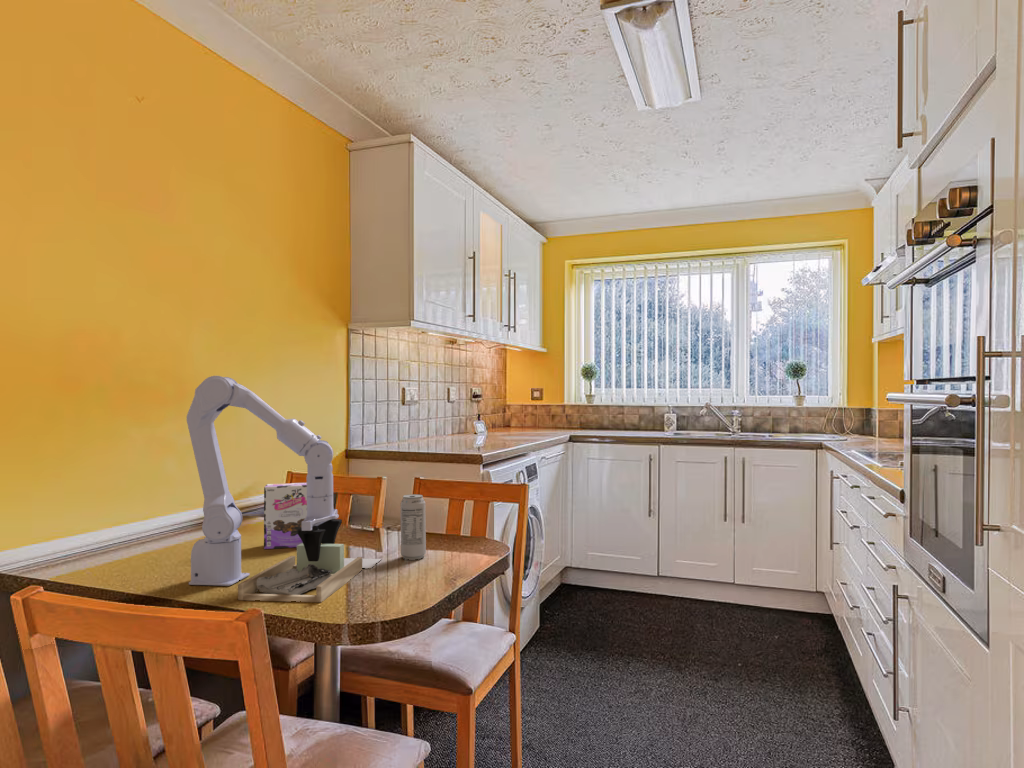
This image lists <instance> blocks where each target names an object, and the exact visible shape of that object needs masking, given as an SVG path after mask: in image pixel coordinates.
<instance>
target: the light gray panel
mask: <svg viewBox="0 0 1024 768" xmlns="http://www.w3.org/2000/svg"><path fill="white" fill-rule="evenodd" d="M356 558H357V557H356ZM356 558H353V557H350V558H349V557H344V566H346V565H347V564H349V563H350V562H352V561H353V560H355V559H356ZM381 559H382V558H363V557H362V568H371V569H373V568H374V567H375V566H376V565H377V564H376V563H378V562H379V561H380V560H381ZM381 561H382V560H381ZM381 561H380V562H381ZM380 562H379V563H380ZM379 563H378V564H379ZM375 564H376V565H375ZM374 565H375V566H374ZM373 566H374V567H373ZM372 567H373V568H372Z"/></svg>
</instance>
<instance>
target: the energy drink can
mask: <svg viewBox="0 0 1024 768" xmlns="http://www.w3.org/2000/svg"><path fill="white" fill-rule="evenodd" d="M426 519H427V518H426V501H425V499H424V496H423V494H417V493H415V494H414V493H413V494H411V493H410V494H404V495H403V496H402V500H401V501H400V555H401V556H402V558H403V559H404V558H405V559H404V560H406V559H409V560H408V561H416V560H415V559H418V560H422V559H423V558H424V557H425V555H426V553H427V550H426V549H427V545H426V544H427V540H426V539H427V538H426V537H427V536H426V535H427V534H426V533H427V531H426V529H427V525H426ZM421 558H422V559H421Z"/></svg>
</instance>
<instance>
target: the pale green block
mask: <svg viewBox="0 0 1024 768" xmlns="http://www.w3.org/2000/svg"><path fill="white" fill-rule="evenodd" d="M344 558H345V544H344V543H335V544H321V547H320V556H319V560H318V561H308V558H307V555H306V551H305V547H304V544H303V543H301V544H299V545H297V547H296V565H297V569H298V570H297V571H299V572H300V571H301V570H303V567H304V568H306V567H307V566H308V564H311V565H312V564H313V565H315V566H316V567H318V569H325V570H333V571H332V572H330V574H335V573H336V572H338V571H339V570H340V569H342V568H343V567H344Z"/></svg>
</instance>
